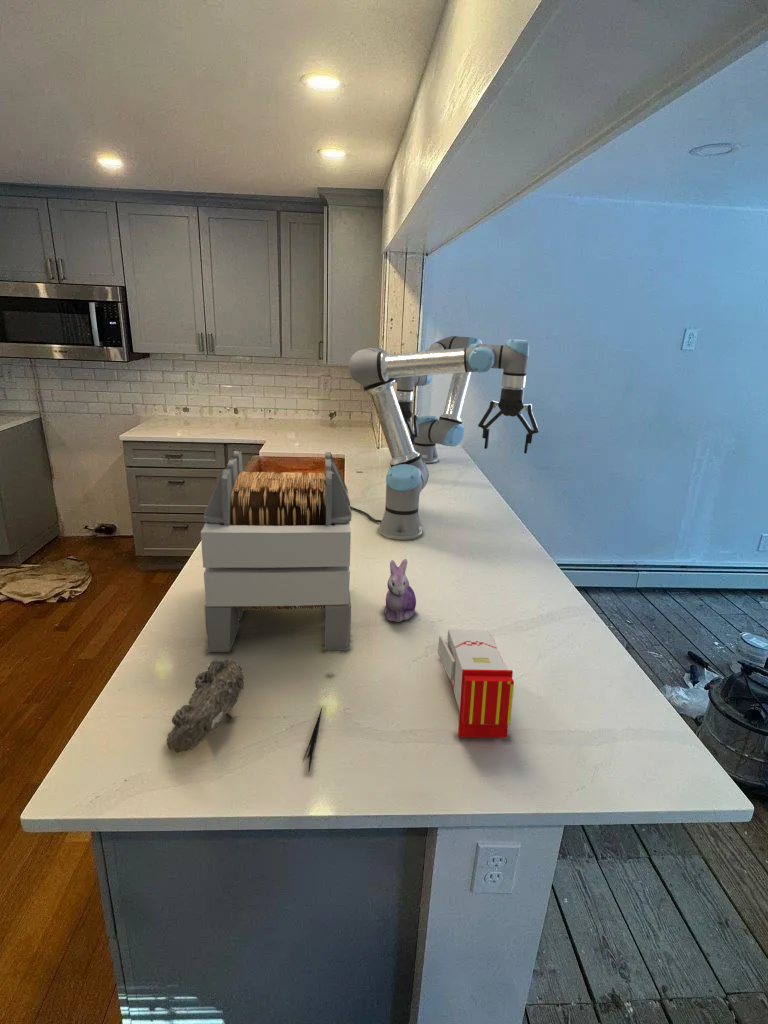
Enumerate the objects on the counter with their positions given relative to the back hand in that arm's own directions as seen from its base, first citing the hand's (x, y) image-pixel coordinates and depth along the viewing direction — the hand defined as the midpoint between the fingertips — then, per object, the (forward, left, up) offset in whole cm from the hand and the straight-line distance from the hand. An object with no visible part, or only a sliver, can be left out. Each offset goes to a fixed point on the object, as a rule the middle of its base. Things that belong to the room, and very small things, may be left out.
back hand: (401, 450), depth 261 cm
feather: (+165, -32, -13) cm, 168 cm away
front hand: (+66, +29, +17) cm, 74 cm away
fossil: (+164, -52, -13) cm, 172 cm away
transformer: (+126, -42, -13) cm, 133 cm away
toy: (+157, -1, -13) cm, 157 cm away
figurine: (+125, -13, -13) cm, 126 cm away
